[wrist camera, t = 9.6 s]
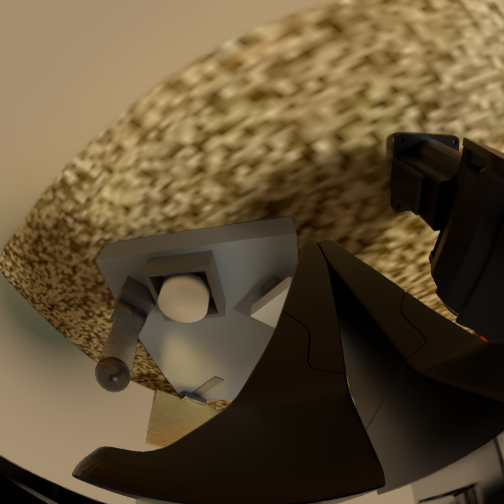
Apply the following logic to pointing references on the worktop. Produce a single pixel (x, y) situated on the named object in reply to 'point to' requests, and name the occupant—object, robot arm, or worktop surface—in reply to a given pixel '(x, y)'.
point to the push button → (184, 297)
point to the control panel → (220, 299)
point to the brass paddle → (175, 417)
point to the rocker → (271, 304)
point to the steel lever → (120, 347)
